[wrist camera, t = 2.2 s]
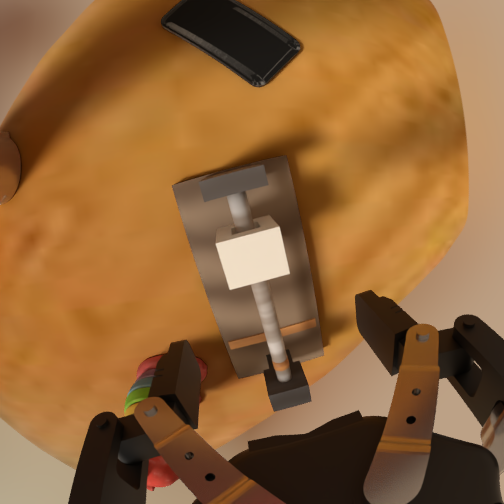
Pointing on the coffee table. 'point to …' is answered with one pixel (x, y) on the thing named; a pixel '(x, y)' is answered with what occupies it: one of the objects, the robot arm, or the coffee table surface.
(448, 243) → the coffee table surface
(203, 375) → the stacking bear
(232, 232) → the sleeve
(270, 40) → the phone
